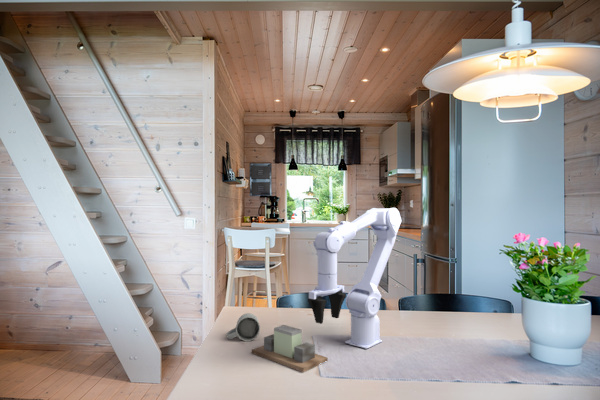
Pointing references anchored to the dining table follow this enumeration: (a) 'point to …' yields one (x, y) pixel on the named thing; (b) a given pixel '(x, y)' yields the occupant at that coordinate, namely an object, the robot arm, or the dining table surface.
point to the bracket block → (286, 340)
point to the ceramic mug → (245, 328)
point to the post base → (300, 361)
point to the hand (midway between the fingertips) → (327, 320)
